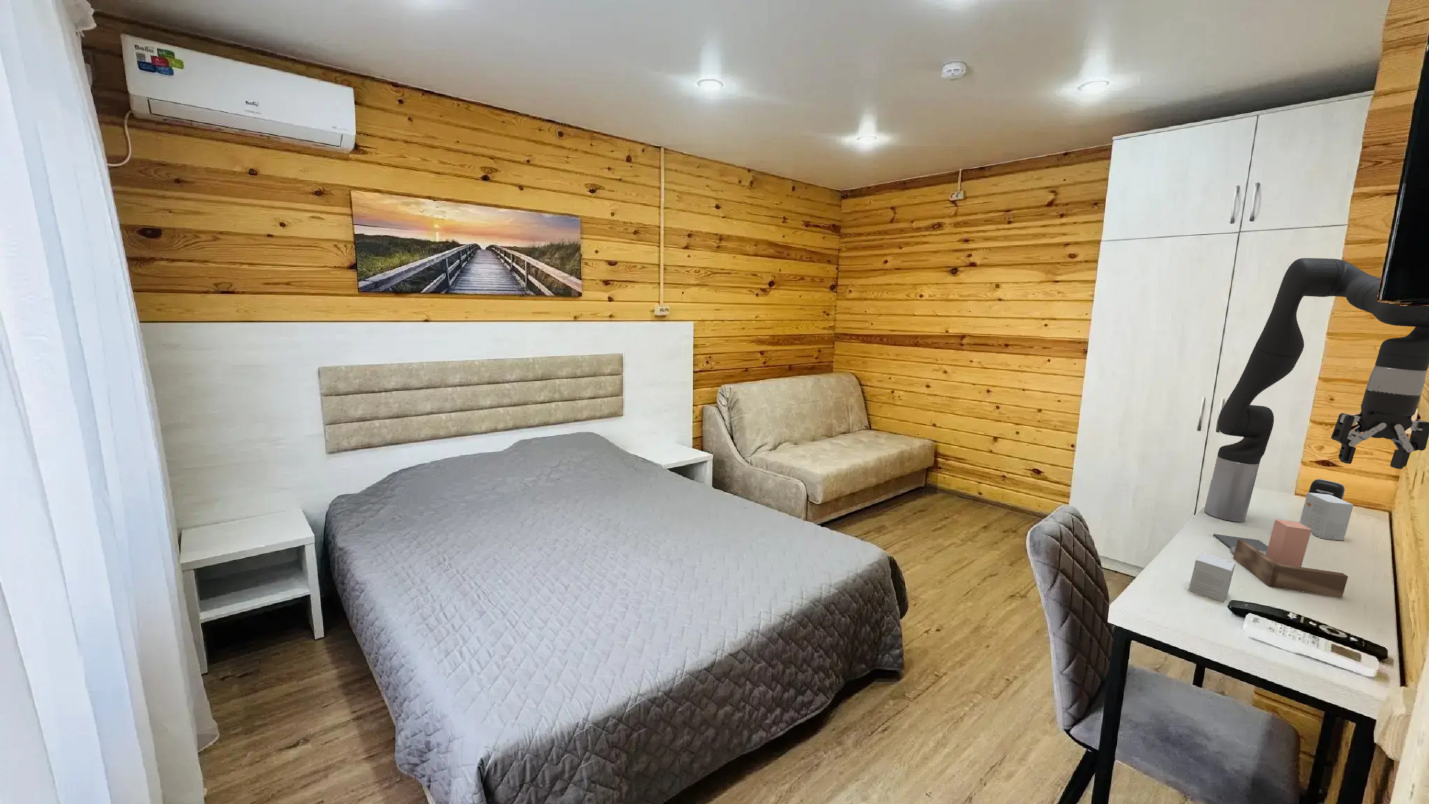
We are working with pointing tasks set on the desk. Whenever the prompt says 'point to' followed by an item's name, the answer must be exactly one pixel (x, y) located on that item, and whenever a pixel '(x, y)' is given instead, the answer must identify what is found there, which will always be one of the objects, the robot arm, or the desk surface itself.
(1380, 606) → the desk surface
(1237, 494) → the robot arm
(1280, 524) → the tall pink rectangular block
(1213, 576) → the product box
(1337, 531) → the small box
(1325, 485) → the battery charger
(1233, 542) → the mat
